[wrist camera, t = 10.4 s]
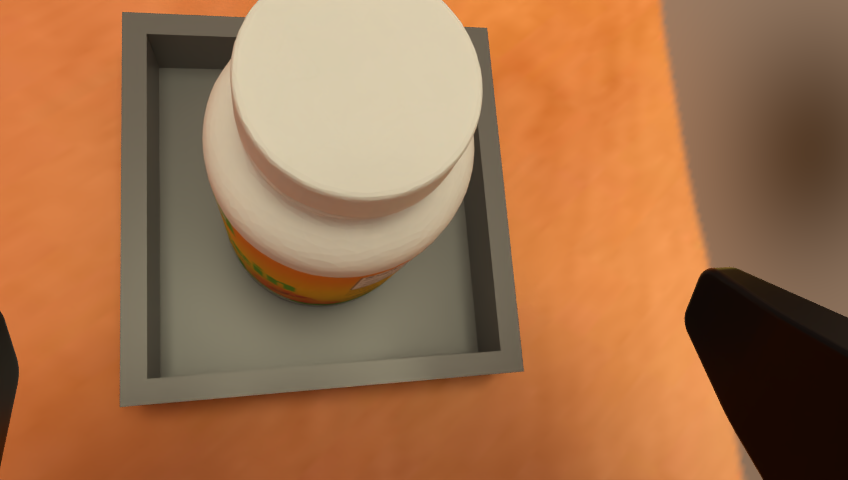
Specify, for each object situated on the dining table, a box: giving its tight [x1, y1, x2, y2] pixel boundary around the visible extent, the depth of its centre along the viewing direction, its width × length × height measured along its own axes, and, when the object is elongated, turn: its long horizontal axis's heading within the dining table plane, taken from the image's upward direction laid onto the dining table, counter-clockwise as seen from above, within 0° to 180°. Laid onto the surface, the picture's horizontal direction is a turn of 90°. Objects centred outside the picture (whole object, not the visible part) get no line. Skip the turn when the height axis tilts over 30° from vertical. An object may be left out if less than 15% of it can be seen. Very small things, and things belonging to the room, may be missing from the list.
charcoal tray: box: [120, 12, 524, 407], centre depth 19 cm, size 10×10×2 cm
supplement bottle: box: [202, 0, 483, 306], centre depth 15 cm, size 5×5×10 cm
